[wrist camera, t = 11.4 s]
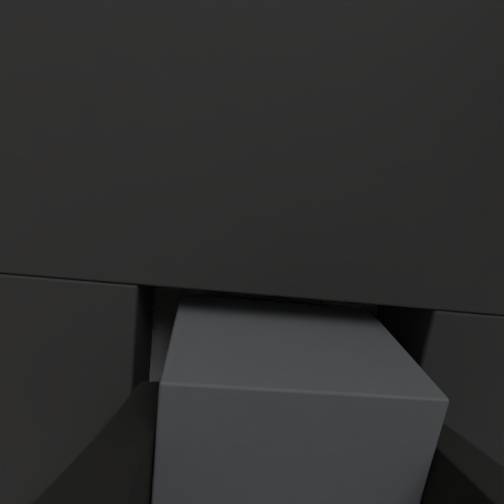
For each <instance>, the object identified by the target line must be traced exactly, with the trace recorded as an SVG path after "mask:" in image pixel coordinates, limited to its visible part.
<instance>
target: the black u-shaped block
mask: <svg viewBox="0 0 504 504" xmlns="http://www.w3.org/2000/svg"><path fill="white" fill-rule="evenodd" d="M155 286H160V287H172V288H184V289H195V290H207V291H219V292H231V293H243V294H255V295H267V296H279V297H291V298H302V299H314V300H326V301H338V302H350V303H362V304H374V305H380V306H379V311H378V315H377V319H378V320H379V321H380V323H381V324H382V325H383V326H384V327H385V328H386V329H387V330H388V331H389V333H390V334H391V335H392V336H393V337H394V338H395V339H396V340H397V342H398V343H399V344H400V345H401V346H402V347H403V348H404V349H405V351H406V352H407V353H408V354H409V355H410V356H411V357H412V358H413V359H414V361H415V362H416V363H417V364H418V365H419V366H420V367H421V368H422V370H423V371H424V372H425V373H426V374H427V375H428V376H429V377H430V379H431V380H432V381H433V382H434V383H435V384H436V385H437V386H438V387H439V389H440V390H441V391H442V392H443V393H444V394H445V395H446V396H447V398H448V399H449V404H448V407H447V411H446V414H445V418H444V421H443V423H444V424H446V425H447V426H448V427H450V428H451V429H452V430H454V431H455V432H457V433H458V434H459V435H461V436H462V437H463V438H465V439H466V440H467V441H469V442H470V443H472V444H473V445H474V446H476V447H477V448H478V449H480V450H481V451H482V452H484V453H485V454H487V455H488V456H489V457H491V458H492V459H494V460H495V461H496V462H498V463H499V464H501V465H502V466H503V467H504V0H0V504H29V503H31V502H32V501H33V500H34V499H35V498H36V497H37V496H38V495H39V494H40V493H41V492H42V491H43V490H44V489H45V488H46V487H47V486H48V485H49V484H50V483H51V482H52V481H53V480H54V479H55V478H56V477H57V476H58V475H59V474H60V473H61V472H62V471H63V470H64V469H65V468H66V467H67V466H68V465H69V464H70V463H71V462H72V461H73V460H74V459H75V458H76V457H77V456H78V455H79V454H80V453H81V452H82V451H83V450H84V449H85V447H86V446H87V445H88V444H89V443H90V442H91V441H92V440H93V439H94V437H95V436H96V435H97V434H98V433H99V432H100V431H101V430H102V429H103V427H104V426H105V425H106V424H107V423H108V422H109V420H110V419H111V418H112V417H113V416H114V415H115V413H116V412H117V411H118V410H119V408H120V407H121V406H122V405H123V403H124V402H125V401H126V400H127V398H128V397H129V396H130V394H131V393H132V392H133V390H134V389H135V388H136V386H137V385H139V384H140V383H141V382H142V381H146V382H149V373H150V356H151V340H152V324H153V308H154V291H155Z"/></svg>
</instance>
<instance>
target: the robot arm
mask: <svg viewBox="0 0 504 504" xmlns="http://www.w3.org/2000/svg"><path fill="white" fill-rule="evenodd" d="M158 393H159V382H146V381H142V382H141V383H140V384H139V385H137V386H136V388H135V389H134V390H133V392H132V393H131V394H130V396H129V397H128V398H127V400H126V401H125V402H124V403H123V405H122V406H121V407H120V408H119V410H118V411H117V412H116V413H115V415H114V416H113V417H112V418H111V419H110V420H109V422H108V423H107V424H106V425H105V426H104V427H103V429H102V430H101V431H100V432H99V433H98V434H97V435H96V436H95V437H94V439H93V440H92V441H91V442H90V443H89V444H88V445H87V446H86V447H85V449H84V450H83V451H82V452H81V453H80V454H79V455H78V456H77V457H76V458H75V459H74V460H73V461H72V462H71V463H70V464H69V465H68V466H67V467H66V468H65V469H64V470H63V471H62V472H61V473H60V474H59V475H58V476H57V477H56V478H55V479H54V480H53V481H52V482H51V483H50V484H49V485H48V486H47V487H46V488H45V489H44V490H43V491H42V492H41V493H40V494H39V495H38V496H37V497H36V498H35V499H34V500H33V501H32V502H31V503H29V504H151V494H152V480H153V466H154V451H155V437H156V422H157V408H158ZM420 504H504V467H503V466H502V465H501V464H499V463H498V462H496V461H495V460H494V459H492V458H491V457H489V456H488V455H487V454H485V453H484V452H482V451H481V450H480V449H478V448H477V447H476V446H474V445H473V444H472V443H470V442H469V441H467V440H466V439H465V438H463V437H462V436H461V435H459V434H458V433H457V432H455V431H454V430H452V429H451V428H450V427H448V426H447V425H446V424H444V423H443V425H442V428H441V431H440V435H439V438H438V442H437V445H436V449H435V452H434V456H433V459H432V463H431V466H430V469H429V473H428V476H427V480H426V483H425V487H424V490H423V494H422V497H421V501H420Z"/></svg>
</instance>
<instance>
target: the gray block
mask: <svg viewBox="0 0 504 504" xmlns="http://www.w3.org/2000/svg"><path fill="white" fill-rule="evenodd" d="M448 404H449V399H448V398H447V396H446V395H445V394H444V393H443V392H442V391H441V390H440V389H439V387H438V386H437V385H436V384H435V383H434V382H433V381H432V380H431V379H430V377H429V376H428V375H427V374H426V373H425V372H424V371H423V370H422V368H421V367H420V366H419V365H418V364H417V363H416V362H415V361H414V359H413V358H412V357H411V356H410V355H409V354H408V353H407V352H406V351H405V349H404V348H403V347H402V346H401V345H400V344H399V343H398V342H397V340H396V339H395V338H394V337H393V336H392V335H391V334H390V333H389V331H388V330H387V329H386V328H385V327H384V326H383V325H382V324H381V323H380V321H379V320H378V319H377V318H376V317H375V316H374V315H373V314H372V312H371V311H370V310H368V309H357V308H344V307H332V306H320V305H308V304H296V303H284V302H272V301H260V300H248V299H236V298H224V297H212V296H200V295H188V294H182V295H181V297H180V301H179V305H178V309H177V313H176V317H175V321H174V325H173V330H172V334H171V338H170V342H169V346H168V350H167V354H166V358H165V362H164V366H163V370H162V374H161V378H160V382H159V393H158V408H157V422H156V437H155V451H154V466H153V480H152V494H151V504H420V501H421V497H422V494H423V490H424V487H425V483H426V480H427V476H428V473H429V469H430V466H431V463H432V459H433V456H434V452H435V449H436V445H437V442H438V438H439V435H440V431H441V428H442V425H443V421H444V418H445V414H446V411H447V407H448Z"/></svg>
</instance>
